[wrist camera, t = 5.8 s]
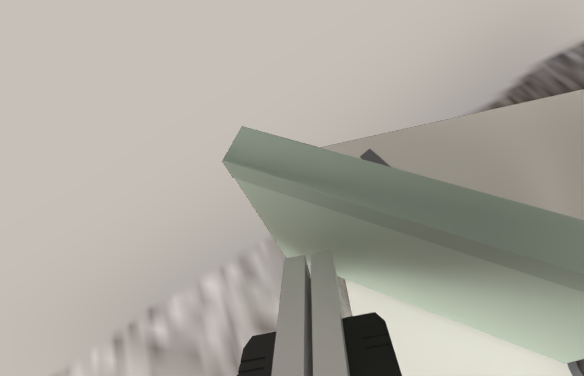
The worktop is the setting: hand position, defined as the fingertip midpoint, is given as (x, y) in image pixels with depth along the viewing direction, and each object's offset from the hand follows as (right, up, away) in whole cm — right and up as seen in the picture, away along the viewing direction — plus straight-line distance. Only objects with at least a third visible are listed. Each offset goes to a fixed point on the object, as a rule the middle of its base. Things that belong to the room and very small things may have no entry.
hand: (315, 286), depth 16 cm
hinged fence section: (+4, -1, +3) cm, 5 cm away
